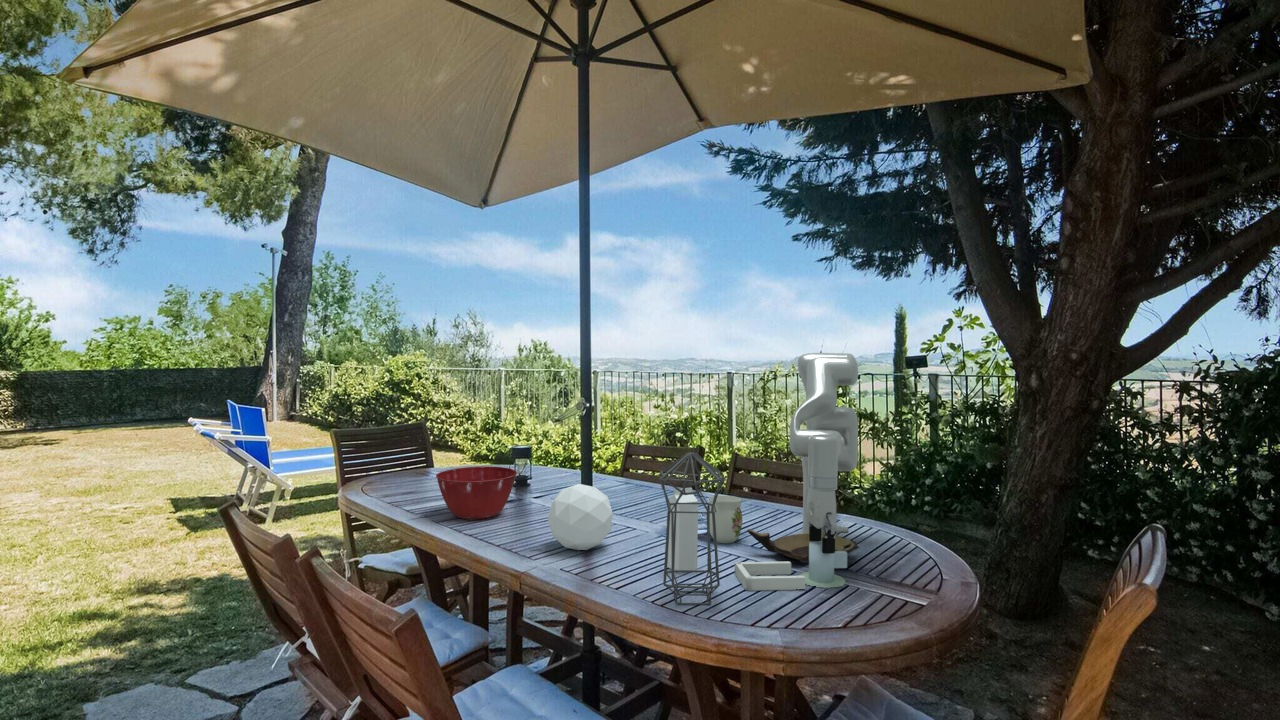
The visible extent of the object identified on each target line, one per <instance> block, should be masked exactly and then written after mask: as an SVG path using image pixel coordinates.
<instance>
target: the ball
mask: <svg viewBox="0 0 1280 720" xmlns="http://www.w3.org/2000/svg"><path fill="white" fill-rule="evenodd" d="M613 516H614V515H613V510H612V507H611V503H610V500H609V497H608V495H606V494H605V493H603V492H602V491H601V490H599V489H598V488H596V487H595V486H591V485H586V484H582V483H581V484H580V483H577V484H574V485H571V486H568V487H565V488H563V489H561V490H560V491H559V493H558V494H557V496H556V497H555V498H554V500H553V501H552V502H551V504H550V508H549V513H548V516H547V520H548V524H549V528H550V531H551V534H552V537H553V538H554V539H555V540H556V541H557V542H558V543H559V544H561V545H562V546H563V547H565V548H567V549H572V550H574V551H575V550H576V551H580V550H585V551H587V550H590V549H592V548H595V547H597V546H600V545H601V544H602V542H603V541H604V540H605V539H606V538H607V536H608V535H609V533H610V532H611V531H612V523H613Z"/></svg>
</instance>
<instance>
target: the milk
mask: <svg viewBox="0 0 1280 720" xmlns="http://www.w3.org/2000/svg"><path fill="white" fill-rule="evenodd" d="M679 489H680V490H682V489H683V487H682V488H679ZM683 492H684V491H683ZM685 492H686V493H688V492H693V488H692V487H686V488H685ZM679 495H680V492H679V491H678V490H676V489H675V488H674V489H673V494H672V496H670V497H668V499H669V502H670V503H676V501H677V499H678V497H679ZM678 503H699V501H698V499H697V497H696V496H695V494H691V495H682V497H681V498H680V500H679V501H678ZM673 506H674V505H671V509H672V507H673ZM672 511H675V507H674V508H673V510H672ZM677 511H685V512H699V504H677ZM698 524H699V513H676V537H675V562H674V570H698V553H699V552H698V551H699V550H698V548H699V547H698V545H699V544H698V542H699V541H698V537H699V536H698V535H699V534H698V533H699V530H698V529H699V527H698V526H699V525H698ZM667 569H670V570H672V546H671V513H670V528H669V546H668V563H667ZM684 573H685V572H678V574H684Z"/></svg>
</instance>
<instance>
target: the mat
mask: <svg viewBox="0 0 1280 720" xmlns="http://www.w3.org/2000/svg"><path fill="white" fill-rule="evenodd" d="M797 576H804V577H805V584H806V585H805V586H808V585H810V586H809V587H812V586H816V587H815V588H817V587H826V588H825V589H831V588H830V587H838V586H842V585H844V584H845V585H846V579H845V578H843V577H842V576H840V575H838V574H835V573H834V581H833V582H831V583H818V582H814V581H811V580H810V579H809V571H806V572H802V573H799V574H798V575H797ZM845 585H844V586H845ZM827 587H828V588H827ZM842 587H843V586H842Z"/></svg>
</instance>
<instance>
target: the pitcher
mask: <svg viewBox="0 0 1280 720" xmlns="http://www.w3.org/2000/svg"><path fill="white" fill-rule="evenodd" d="M713 499H714V495H712V496H709V497H708V501H709V502H708V503H710V504H712V503H713ZM741 504H742V498H740V497H737V496H733V495H718V497H717V499H716V502H715V508H716V511H717V512H715V510H714V512H715V523H716V538H717V543H719V544H732V543H735V542H736V540H737V539H738V538H739V536H740V533H741V531H742V527H743V526H742V525H743V513H742V509H741V506H742V505H741ZM711 507H712V506H710V511H711ZM710 537H711V538H712V539H713V540H714V536H713V522H712V513H710Z"/></svg>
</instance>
